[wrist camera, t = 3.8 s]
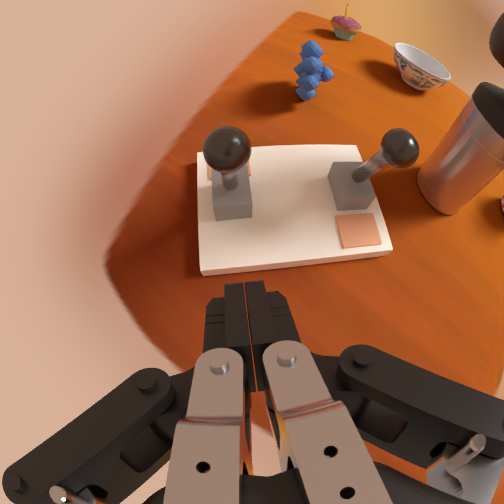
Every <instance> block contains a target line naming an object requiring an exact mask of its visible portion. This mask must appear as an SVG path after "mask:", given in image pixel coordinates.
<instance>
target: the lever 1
mask: <svg viewBox="0 0 504 504" xmlns="http://www.w3.org/2000/svg"><path fill="white" fill-rule="evenodd" d="M251 151H252V148H251V142H250V140H249V138H248V136H247V135H246V134H245V133H244V132H243V131H242V130H240V129H238V128H236V127H232V126H223V127H219V128H217V129H215V130H213V131H212V132H211V133H210V134H209V135H208V136H207V138H206V139H205V142H204V145H203V155H204V158H205V161H206V162H207V164H208V165H209V166H210V167H211V168H212V169H214V170H216V171H218V172H220V174H221V178H222V183H223V186H224V188H225V189H227V190H234V189H236V188H237V186H238V178H239V170H240V169H242V168H243V167H244V166H245V165H246V164H247V162H248V161H249V159H250V156H251Z"/></svg>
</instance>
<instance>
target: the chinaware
mask: <svg viewBox="0 0 504 504" xmlns="http://www.w3.org/2000/svg"><path fill="white" fill-rule="evenodd" d="M394 59H395V63H396V66H397V68H398V70H399V71H400V73H401V74H402V75H401V77H402V79H403V80H404V81H405V82H406V83H407V84H408V85H410V86H412V87H413V88H415V89H418V90H425V88H426V89H434V88H438V87H440V86H442V85H444V84H445V83H446V82H448V80H449V79H450V77H451V76H450V73H449V72H448V71H447V69H446V68H445V67H444V66H443V65H442V64H441V63H440V62H439V61H437V60H436V59H435V58H433V57H432V56H430V55H429V54H427V53H425V52H424V51H422V50H420V49H418V48H416V47H413V46H410V45H408V44H404V43H396V44H395V45H394Z"/></svg>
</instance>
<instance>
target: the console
mask: <svg viewBox="0 0 504 504" xmlns="http://www.w3.org/2000/svg"><path fill="white" fill-rule="evenodd" d="M251 148H252V151H251V156H250V159H249V161H248V162H247V164H246V165H245V166H244V167H243V168H242V169H240V170H239V178H238V186H237V188H236V189H234V190H227V189H225V188H224V186H223V183H222V178H221V174H220V172H218V171H216V170H214V169H212V168H211V167H210V166H209V165H208V164H207V162H206V161H205V158H204V155H203V152H199V153H197V195H198V234H199V258H200V271H201V273H202V275H203V276H209V275H220V274H230V273H240V272H249V271H259V270H268V269H278V268H287V267H296V266H304V265H313V264H322V263H330V262H338V261H347V260H355V259H363V258H371V257H378V256H386V255H387V254H388V253H390V252H391V251H392V250H393V248H392V244H391V241H390V237H389V234H388V231H387V227H386V224H385V221H384V218H383V215H382V212H381V209H380V206H379V203H378V200H377V197H376V194H375V192H374V189H373V186H372V184H371V181H370V178H368V179H367V180H365V181H363V182H361V183H357V182H355V181H354V180H353V178H352V172H353V171H354V170H355V169H356V168H358V167H359V166H360V165H362V164H363V161H362V158H361V156H360V154H359V151H358V149H357V147H356V145H282V146H263V147H251Z"/></svg>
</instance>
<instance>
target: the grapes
mask: <svg viewBox="0 0 504 504" xmlns="http://www.w3.org/2000/svg"><path fill="white" fill-rule="evenodd" d="M301 47H302V52H301V53H300V55H301V57H302V62H301V63H300V64H298V65H297V66H296V67H295V68H294V70H295V72H296V73H297V74H298V76H299V77H300V78H299V79H297V80H296V82H297V84H298V85H299V86H300V87H298V88H297V89H296V90H295V91H296V93H297V94H298V96H299V97H300V98H301V99H302V100H304V101H308V100H310V99H312V98H313V97H315V96H316V95H317V94H316V93H315V91H314V89H315V88H316V87H318V86H319V85H320V82H319V81H320V80H321V81H323V82H327V81H329V80H331V79H332V78H333V77H334V74H333V72H332V70H331V69H330V68H329V67H327V66H323V62H322V61H321V59H320V56H322V55H323V54H324V53H323V51H322V49H321V48H320V46H319V45H318V44H317V43H316V42H315V41H312V40H311V41H308V42H306V43H305V44H304V45H302V46H301Z"/></svg>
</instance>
